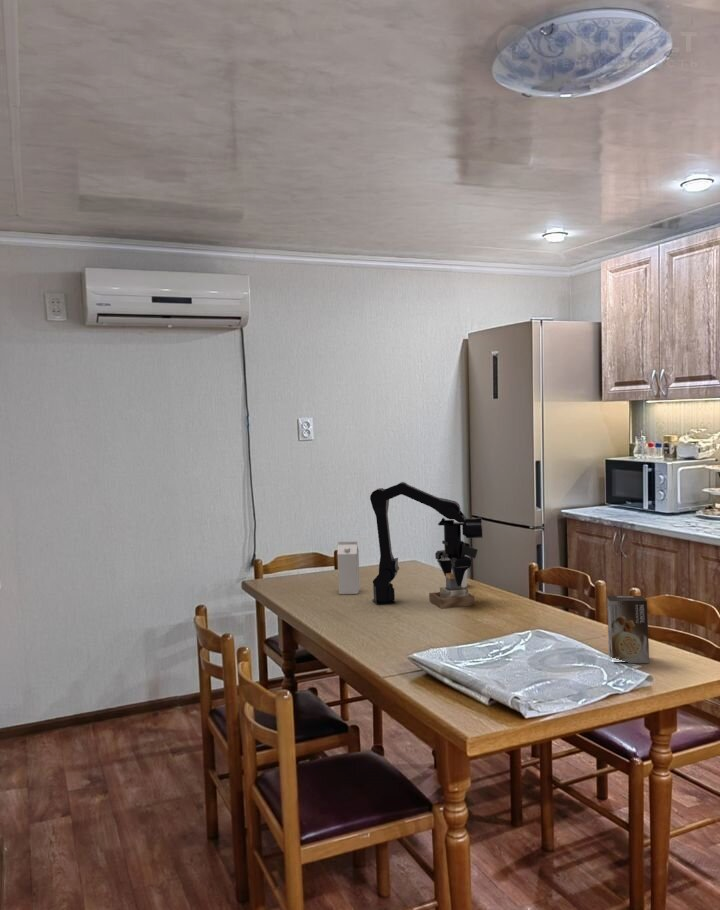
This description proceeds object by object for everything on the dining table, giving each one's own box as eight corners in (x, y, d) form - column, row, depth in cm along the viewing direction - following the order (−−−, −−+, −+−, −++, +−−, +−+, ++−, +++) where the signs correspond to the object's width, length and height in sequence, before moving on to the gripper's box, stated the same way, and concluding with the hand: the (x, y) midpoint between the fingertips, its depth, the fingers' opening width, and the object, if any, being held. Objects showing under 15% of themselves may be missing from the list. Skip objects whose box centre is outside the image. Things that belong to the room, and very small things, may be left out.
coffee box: (644, 656, 198) (643, 594, 197) (649, 664, 192) (648, 600, 191) (608, 655, 200) (606, 594, 199) (611, 663, 193) (610, 600, 193)
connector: (450, 598, 260) (450, 575, 259) (446, 596, 264) (445, 573, 263) (461, 597, 261) (461, 574, 261) (457, 595, 265) (456, 572, 264)
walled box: (441, 608, 255) (440, 593, 255) (429, 601, 266) (429, 587, 265) (474, 605, 258) (473, 590, 258) (461, 598, 269) (461, 584, 269)
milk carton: (341, 590, 288) (339, 540, 287) (359, 590, 288) (358, 539, 287) (338, 594, 281) (337, 543, 280) (358, 594, 280) (356, 542, 280)
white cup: (472, 587, 286) (471, 560, 286) (456, 590, 282) (455, 563, 282) (459, 583, 293) (458, 557, 292) (442, 586, 289) (442, 560, 288)
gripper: (485, 540, 255) (487, 586, 255) (463, 532, 272) (464, 576, 273) (454, 542, 252) (456, 589, 252) (434, 535, 269) (435, 579, 270)
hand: (453, 583), depth 262 cm, fingers open, 9 cm apart
